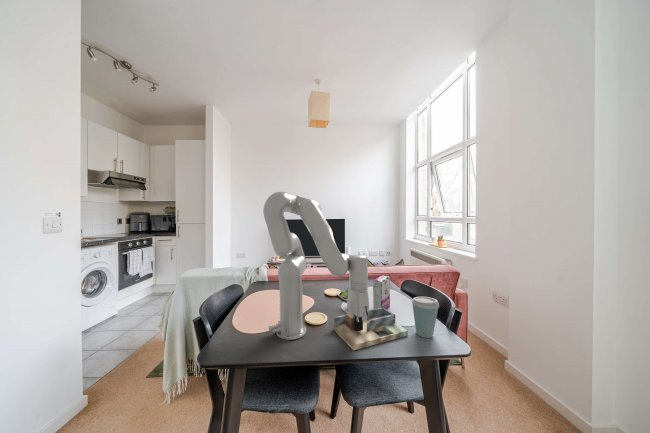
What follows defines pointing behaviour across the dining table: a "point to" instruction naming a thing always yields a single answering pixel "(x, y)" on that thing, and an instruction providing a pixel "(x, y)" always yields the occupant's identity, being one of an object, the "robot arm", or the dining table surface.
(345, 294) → the salad plate
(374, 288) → the candy bar box
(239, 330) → the dining table surface
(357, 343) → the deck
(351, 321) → the walnut block
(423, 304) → the disposable coffee cup
